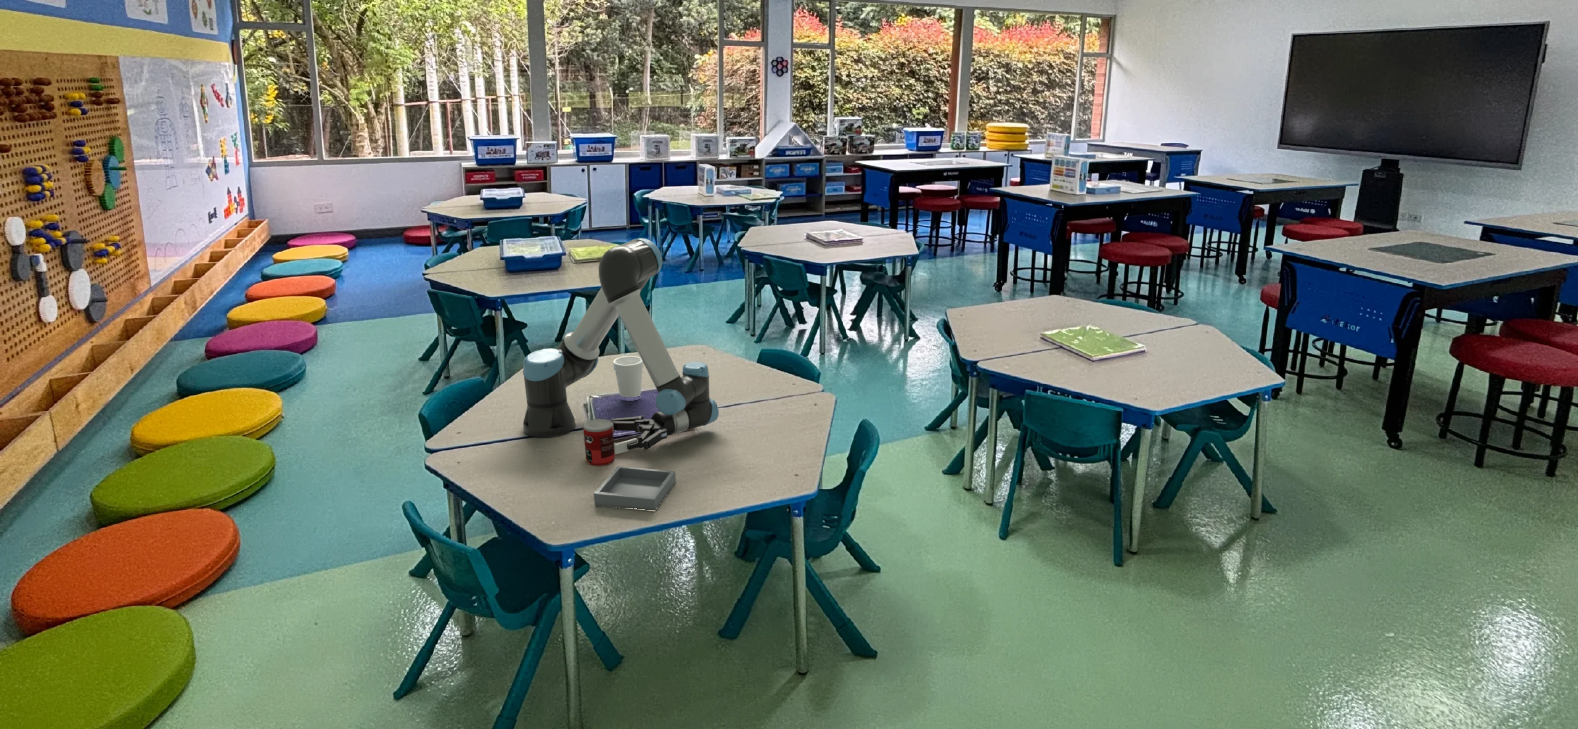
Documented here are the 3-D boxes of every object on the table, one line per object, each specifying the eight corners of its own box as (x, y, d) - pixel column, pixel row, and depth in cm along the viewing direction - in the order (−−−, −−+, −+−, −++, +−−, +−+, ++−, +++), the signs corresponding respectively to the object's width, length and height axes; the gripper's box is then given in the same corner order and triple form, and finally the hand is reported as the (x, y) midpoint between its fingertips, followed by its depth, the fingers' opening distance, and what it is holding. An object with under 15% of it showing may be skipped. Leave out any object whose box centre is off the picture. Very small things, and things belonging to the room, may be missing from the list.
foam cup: (638, 404, 295) (636, 366, 290) (611, 402, 296) (608, 364, 292) (648, 393, 303) (646, 356, 299) (622, 391, 305) (619, 354, 301)
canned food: (587, 455, 259) (584, 419, 255) (616, 454, 260) (613, 418, 256) (584, 467, 252) (581, 430, 248) (613, 466, 253) (611, 429, 249)
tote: (594, 505, 231) (593, 493, 230) (618, 477, 246) (617, 465, 245) (655, 512, 228) (654, 499, 227) (675, 483, 243) (675, 471, 241)
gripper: (693, 448, 258) (626, 469, 246) (648, 420, 277) (583, 439, 264) (692, 423, 256) (624, 443, 243) (646, 397, 274) (581, 414, 262)
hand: (603, 441), depth 254 cm, fingers open, 13 cm apart
